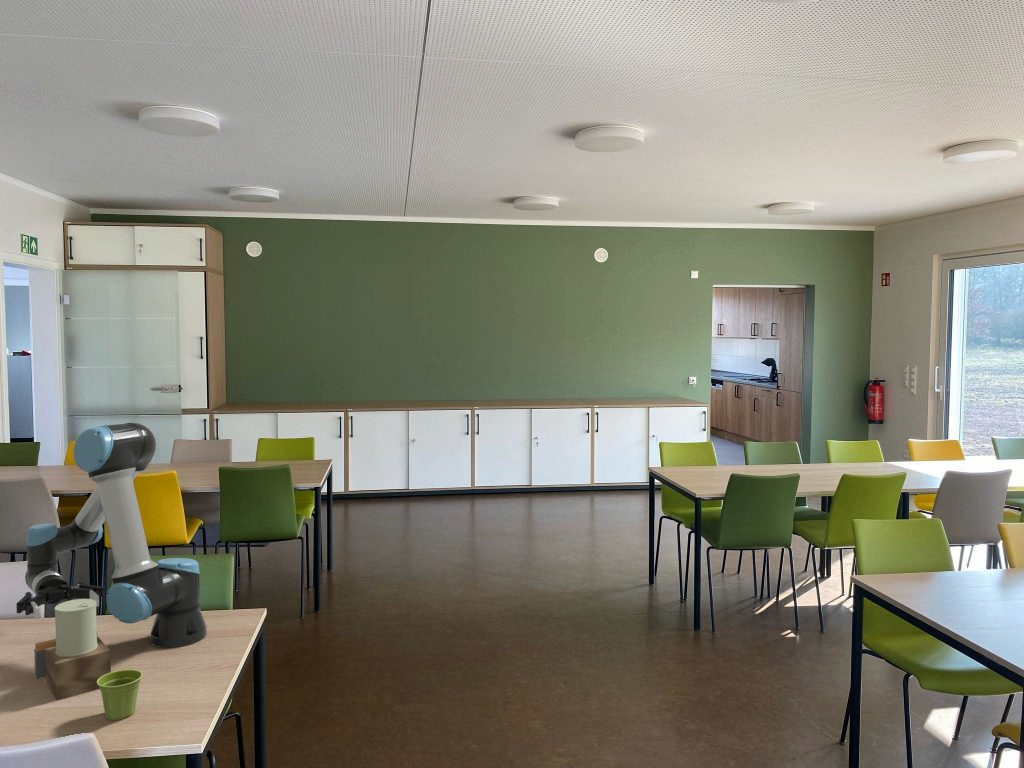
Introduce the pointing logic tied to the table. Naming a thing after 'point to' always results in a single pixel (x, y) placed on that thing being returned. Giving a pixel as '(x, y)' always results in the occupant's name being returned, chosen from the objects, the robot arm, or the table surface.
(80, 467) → the robot arm
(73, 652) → the can
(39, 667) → the hurdle posts
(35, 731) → the table surface
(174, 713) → the table surface
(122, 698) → the plant pot
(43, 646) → the terracotta bar
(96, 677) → the walnut stand
